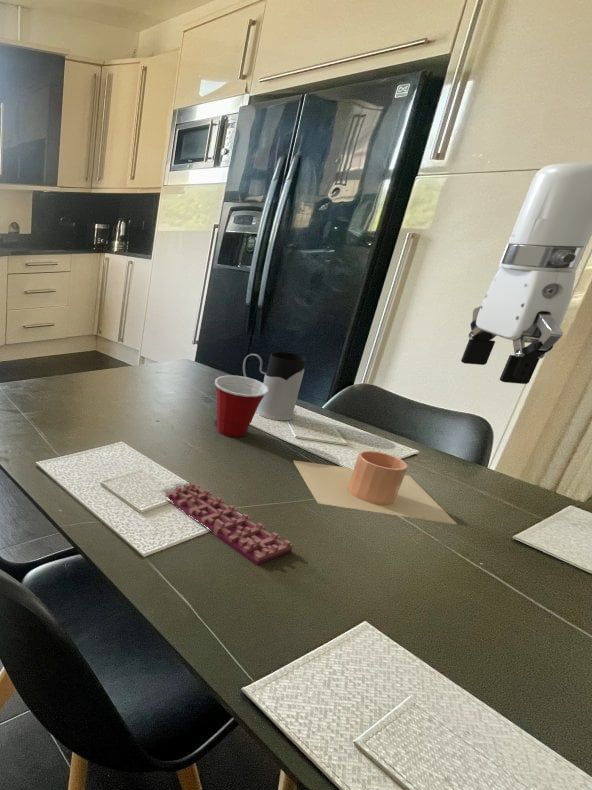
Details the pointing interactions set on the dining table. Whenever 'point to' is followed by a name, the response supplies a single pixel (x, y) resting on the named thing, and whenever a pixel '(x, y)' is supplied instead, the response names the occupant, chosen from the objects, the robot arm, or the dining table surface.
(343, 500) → the mat
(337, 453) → the dining table surface
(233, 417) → the plastic cup
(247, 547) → the maroon flat bar
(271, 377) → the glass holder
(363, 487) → the peach cup
